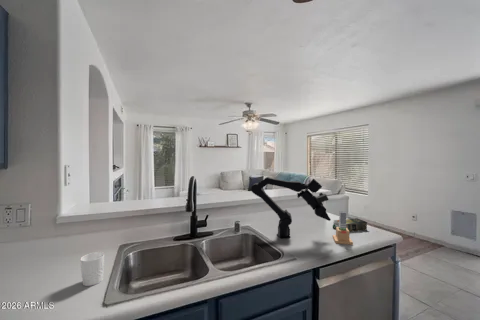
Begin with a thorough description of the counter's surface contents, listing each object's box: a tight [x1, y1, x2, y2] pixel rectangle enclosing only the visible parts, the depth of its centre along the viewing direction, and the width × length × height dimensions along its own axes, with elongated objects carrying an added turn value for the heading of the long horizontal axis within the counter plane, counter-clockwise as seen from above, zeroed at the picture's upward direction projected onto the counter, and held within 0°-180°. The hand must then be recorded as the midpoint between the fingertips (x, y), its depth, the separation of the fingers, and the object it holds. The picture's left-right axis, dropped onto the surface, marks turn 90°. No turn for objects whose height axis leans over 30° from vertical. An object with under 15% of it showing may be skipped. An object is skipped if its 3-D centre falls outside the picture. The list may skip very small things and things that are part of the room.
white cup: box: [80, 251, 105, 287], centre depth 87 cm, size 8×8×10 cm
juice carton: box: [332, 217, 368, 232], centre depth 149 cm, size 20×10×6 cm, turn 103°
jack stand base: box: [332, 227, 354, 246], centre depth 128 cm, size 9×9×7 cm
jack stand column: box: [338, 211, 347, 230], centre depth 128 cm, size 3×3×12 cm
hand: (328, 218), depth 129 cm, fingers open, 9 cm apart
